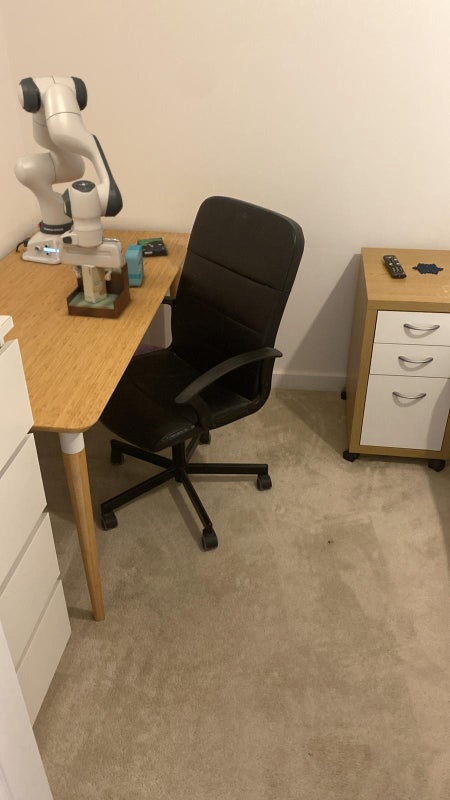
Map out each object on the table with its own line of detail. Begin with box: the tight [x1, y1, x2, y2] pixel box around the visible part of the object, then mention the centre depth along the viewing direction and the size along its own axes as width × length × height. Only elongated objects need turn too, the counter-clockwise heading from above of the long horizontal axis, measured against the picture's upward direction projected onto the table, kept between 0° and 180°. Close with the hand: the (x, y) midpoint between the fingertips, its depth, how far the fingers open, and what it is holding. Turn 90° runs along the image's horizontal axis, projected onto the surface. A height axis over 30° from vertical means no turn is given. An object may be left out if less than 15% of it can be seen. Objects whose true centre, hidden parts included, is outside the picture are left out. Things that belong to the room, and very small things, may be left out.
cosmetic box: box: [82, 265, 107, 303], centre depth 207 cm, size 6×4×12 cm
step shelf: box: [66, 261, 131, 320], centre depth 211 cm, size 16×15×14 cm
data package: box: [124, 244, 145, 288], centre depth 231 cm, size 12×4×12 cm, turn 179°
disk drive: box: [137, 237, 168, 258], centre depth 261 cm, size 10×3×15 cm
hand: (93, 278), depth 207 cm, fingers open, 8 cm apart
